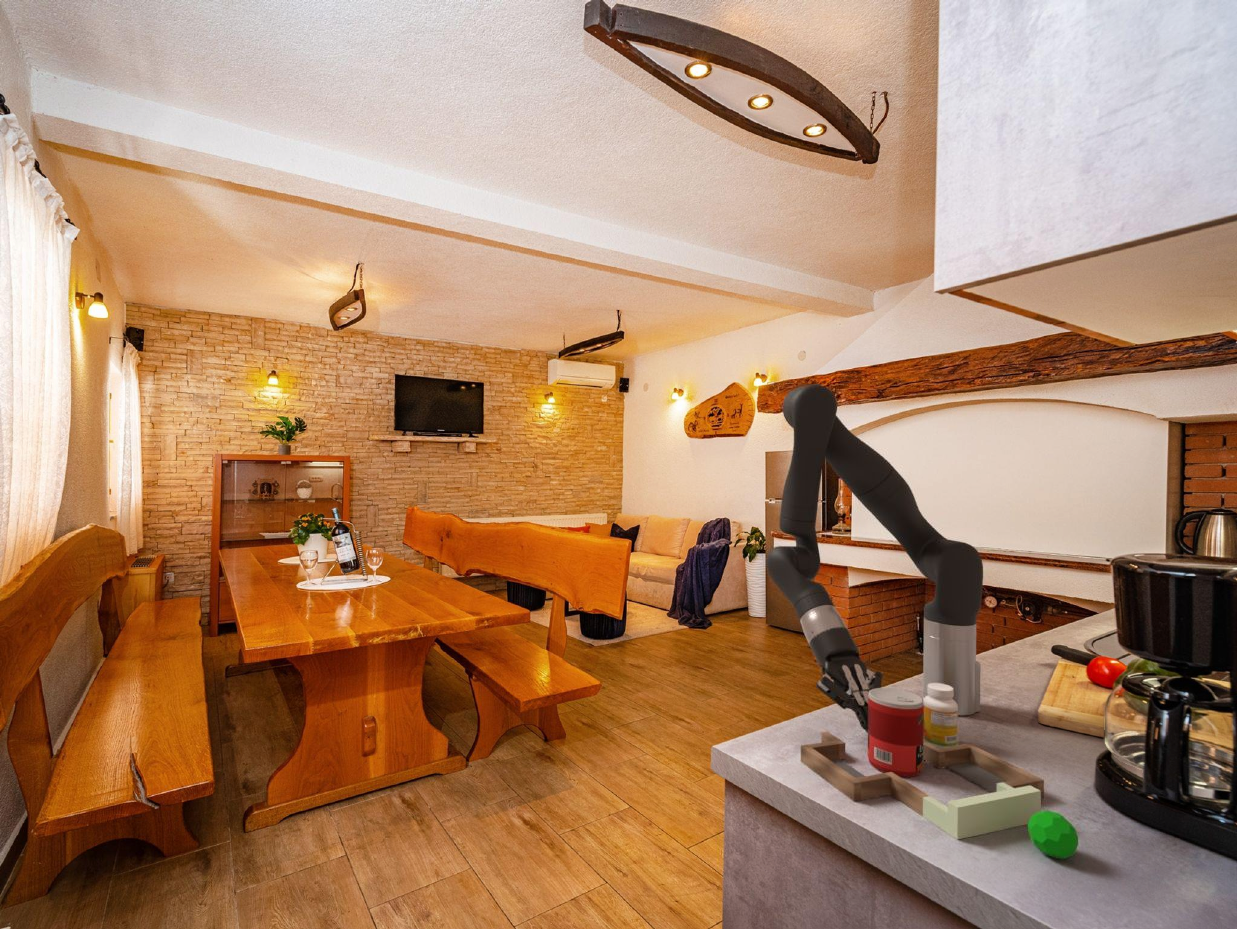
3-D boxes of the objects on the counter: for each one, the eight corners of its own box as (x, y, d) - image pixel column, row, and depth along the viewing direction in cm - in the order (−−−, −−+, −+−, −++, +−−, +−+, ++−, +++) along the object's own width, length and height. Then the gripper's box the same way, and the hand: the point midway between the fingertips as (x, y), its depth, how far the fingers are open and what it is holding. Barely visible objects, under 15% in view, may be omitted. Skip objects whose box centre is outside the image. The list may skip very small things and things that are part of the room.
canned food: (930, 780, 92) (930, 706, 92) (873, 775, 93) (874, 702, 93) (914, 757, 99) (915, 689, 100) (862, 752, 101) (863, 685, 101)
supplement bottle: (924, 734, 109) (924, 679, 109) (958, 741, 106) (959, 685, 106) (920, 745, 104) (921, 687, 104) (956, 753, 101) (957, 694, 101)
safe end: (922, 816, 82) (923, 786, 82) (1002, 800, 87) (1003, 771, 87) (957, 839, 77) (957, 807, 77) (1040, 821, 81) (1040, 790, 81)
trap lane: (788, 752, 100) (788, 737, 100) (919, 733, 109) (919, 719, 109) (891, 829, 79) (891, 809, 79) (1043, 797, 87) (1043, 780, 88)
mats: (813, 764, 96) (813, 762, 96) (934, 745, 104) (934, 743, 104) (891, 821, 81) (891, 819, 81) (1027, 794, 88) (1027, 792, 88)
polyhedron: (1068, 872, 71) (1068, 830, 71) (1021, 850, 75) (1021, 811, 75) (1084, 856, 74) (1084, 817, 74) (1037, 837, 78) (1037, 799, 78)
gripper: (806, 627, 108) (851, 725, 96) (868, 623, 112) (918, 716, 100) (788, 649, 113) (829, 744, 101) (848, 644, 117) (894, 735, 105)
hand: (874, 730), depth 101 cm, fingers closed
